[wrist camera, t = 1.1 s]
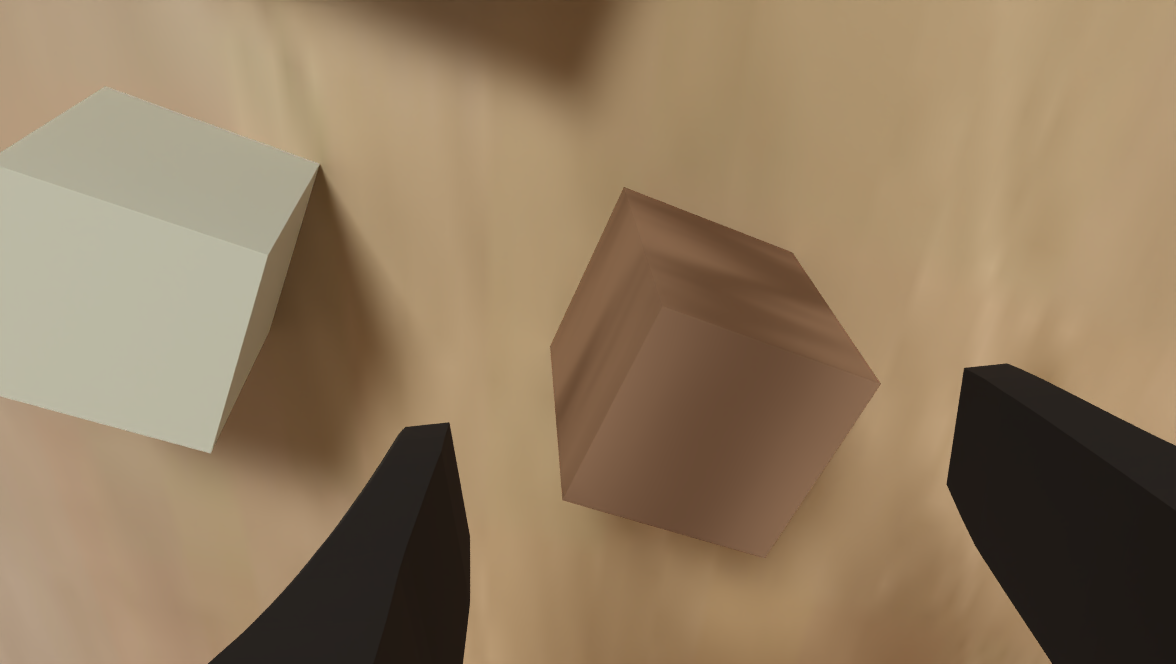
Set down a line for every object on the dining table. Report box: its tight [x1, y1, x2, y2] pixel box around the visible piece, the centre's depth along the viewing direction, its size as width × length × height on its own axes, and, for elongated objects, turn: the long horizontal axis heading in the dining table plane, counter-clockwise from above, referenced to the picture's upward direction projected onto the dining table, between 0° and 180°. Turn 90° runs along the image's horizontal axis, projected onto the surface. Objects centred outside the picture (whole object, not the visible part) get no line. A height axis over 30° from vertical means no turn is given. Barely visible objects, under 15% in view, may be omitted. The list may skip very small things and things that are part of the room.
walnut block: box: [550, 187, 881, 558], centre depth 20 cm, size 4×4×6 cm
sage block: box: [0, 86, 320, 453], centre depth 18 cm, size 4×4×5 cm
